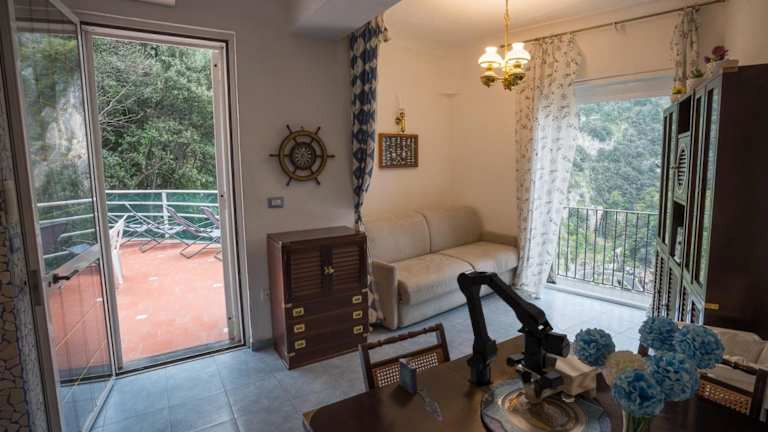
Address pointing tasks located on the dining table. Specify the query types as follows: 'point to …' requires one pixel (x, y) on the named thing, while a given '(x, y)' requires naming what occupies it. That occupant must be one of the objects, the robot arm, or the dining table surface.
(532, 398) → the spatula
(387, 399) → the dining table surface
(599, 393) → the dining table surface
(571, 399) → the steel token
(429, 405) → the throwing knife
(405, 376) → the flask
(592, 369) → the wooden crate
